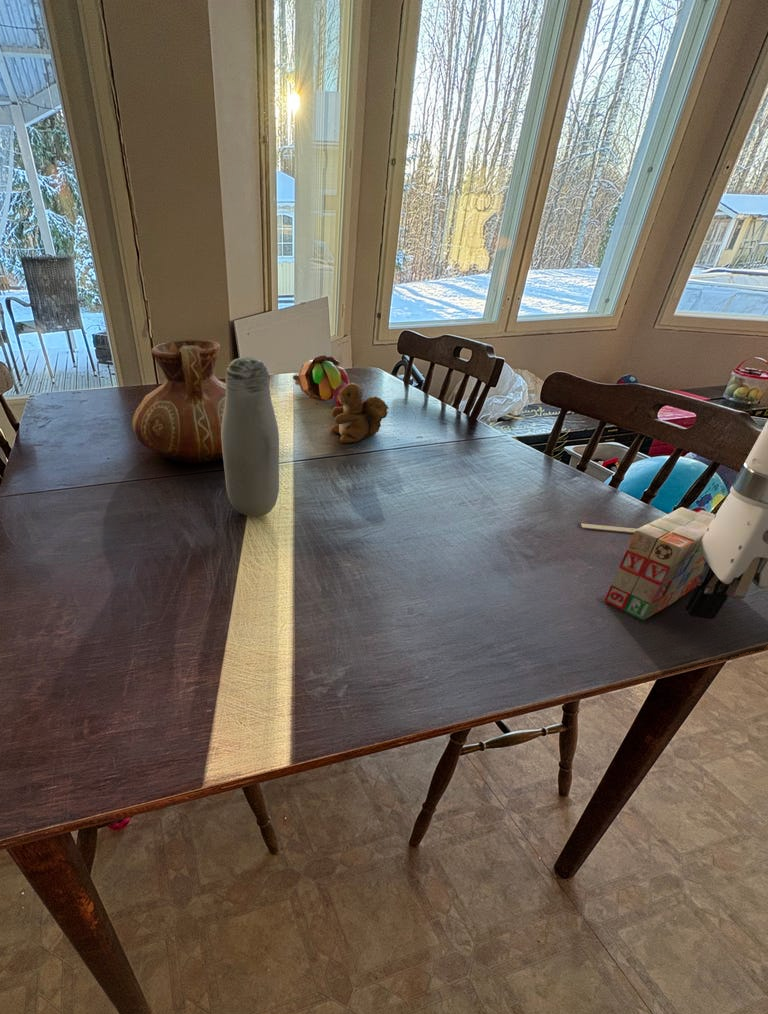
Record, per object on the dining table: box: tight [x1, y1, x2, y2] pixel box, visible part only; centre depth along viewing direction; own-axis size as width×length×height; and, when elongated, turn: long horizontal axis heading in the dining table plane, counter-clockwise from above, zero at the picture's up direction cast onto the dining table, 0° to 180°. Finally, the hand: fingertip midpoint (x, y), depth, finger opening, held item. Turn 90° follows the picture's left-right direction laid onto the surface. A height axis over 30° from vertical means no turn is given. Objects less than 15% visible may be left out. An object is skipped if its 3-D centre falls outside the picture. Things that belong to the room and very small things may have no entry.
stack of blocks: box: [603, 506, 716, 621], centre depth 79 cm, size 21×6×12 cm, turn 123°
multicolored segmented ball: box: [292, 354, 350, 407], centre depth 167 cm, size 15×15×25 cm
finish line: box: [580, 522, 637, 534], centre depth 98 cm, size 18×2×1 cm, turn 75°
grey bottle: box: [221, 356, 280, 518], centre depth 97 cm, size 10×10×28 cm
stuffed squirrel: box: [330, 381, 390, 444], centre depth 136 cm, size 10×14×13 cm
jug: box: [131, 338, 226, 464], centre depth 127 cm, size 30×30×25 cm
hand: (699, 614), depth 72 cm, fingers closed
